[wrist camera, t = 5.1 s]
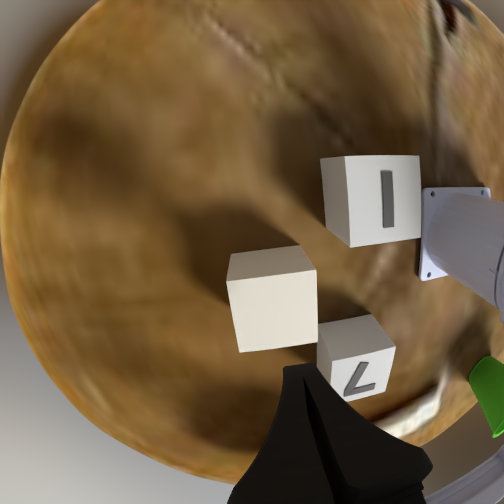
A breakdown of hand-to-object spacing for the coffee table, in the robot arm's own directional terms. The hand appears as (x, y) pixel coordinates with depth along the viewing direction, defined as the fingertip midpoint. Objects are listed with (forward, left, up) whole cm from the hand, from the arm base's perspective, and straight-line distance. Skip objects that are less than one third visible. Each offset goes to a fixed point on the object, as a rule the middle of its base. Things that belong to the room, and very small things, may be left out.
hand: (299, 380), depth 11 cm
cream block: (+1, -1, -10) cm, 10 cm away
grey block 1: (-6, -7, -10) cm, 14 cm away
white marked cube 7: (-5, +6, -10) cm, 13 cm away
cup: (-29, +19, -10) cm, 37 cm away
